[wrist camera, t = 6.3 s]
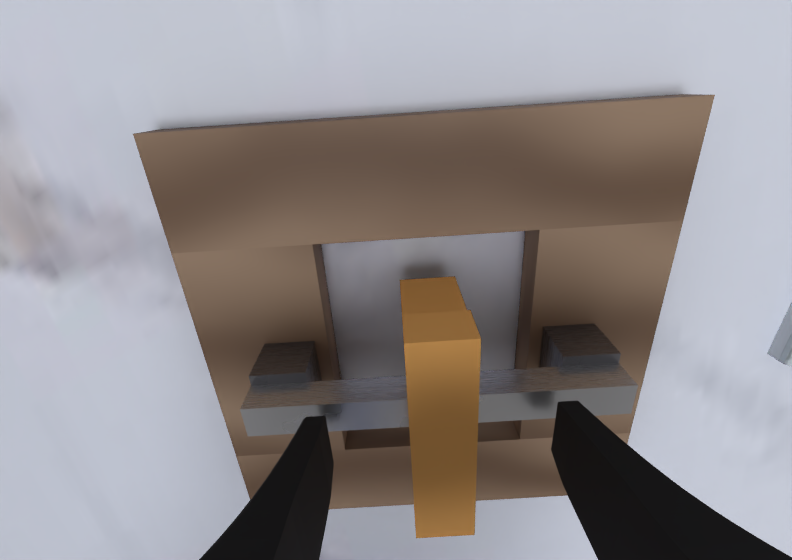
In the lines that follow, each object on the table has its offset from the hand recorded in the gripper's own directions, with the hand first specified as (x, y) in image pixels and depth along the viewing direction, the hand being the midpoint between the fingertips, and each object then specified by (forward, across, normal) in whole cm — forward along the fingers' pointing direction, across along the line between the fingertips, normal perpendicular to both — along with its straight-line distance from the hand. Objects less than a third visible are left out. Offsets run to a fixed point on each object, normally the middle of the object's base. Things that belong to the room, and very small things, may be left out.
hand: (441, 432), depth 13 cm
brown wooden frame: (+6, 0, 0) cm, 6 cm away
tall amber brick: (+4, 0, 0) cm, 4 cm away
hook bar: (+4, 0, 0) cm, 4 cm away
